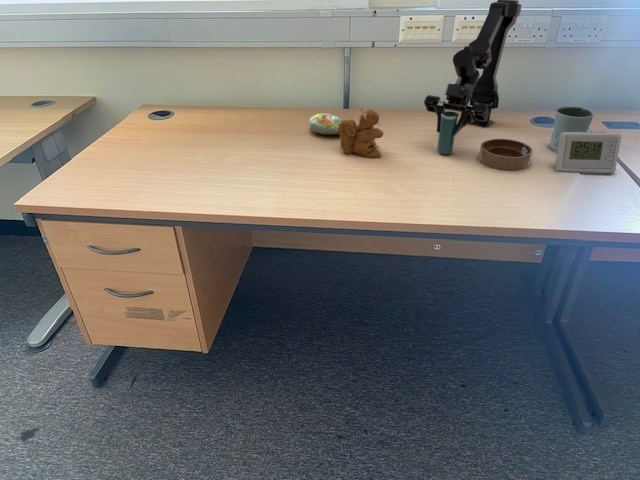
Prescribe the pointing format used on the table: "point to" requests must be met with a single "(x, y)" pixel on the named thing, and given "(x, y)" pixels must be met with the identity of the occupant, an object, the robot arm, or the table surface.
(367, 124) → the stuffed squirrel
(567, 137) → the digital clock
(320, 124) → the decorated easter egg
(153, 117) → the table surface
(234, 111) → the table surface
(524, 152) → the bowl
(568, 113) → the grey-green cup
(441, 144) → the tin
